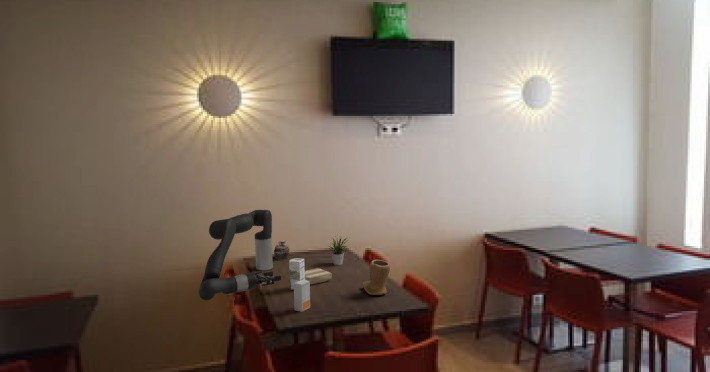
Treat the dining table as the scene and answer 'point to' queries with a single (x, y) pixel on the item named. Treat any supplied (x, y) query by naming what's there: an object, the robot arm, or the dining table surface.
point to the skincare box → (302, 295)
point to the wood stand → (317, 276)
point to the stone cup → (377, 277)
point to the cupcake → (281, 251)
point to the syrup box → (296, 271)
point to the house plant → (338, 251)
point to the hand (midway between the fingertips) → (276, 275)
